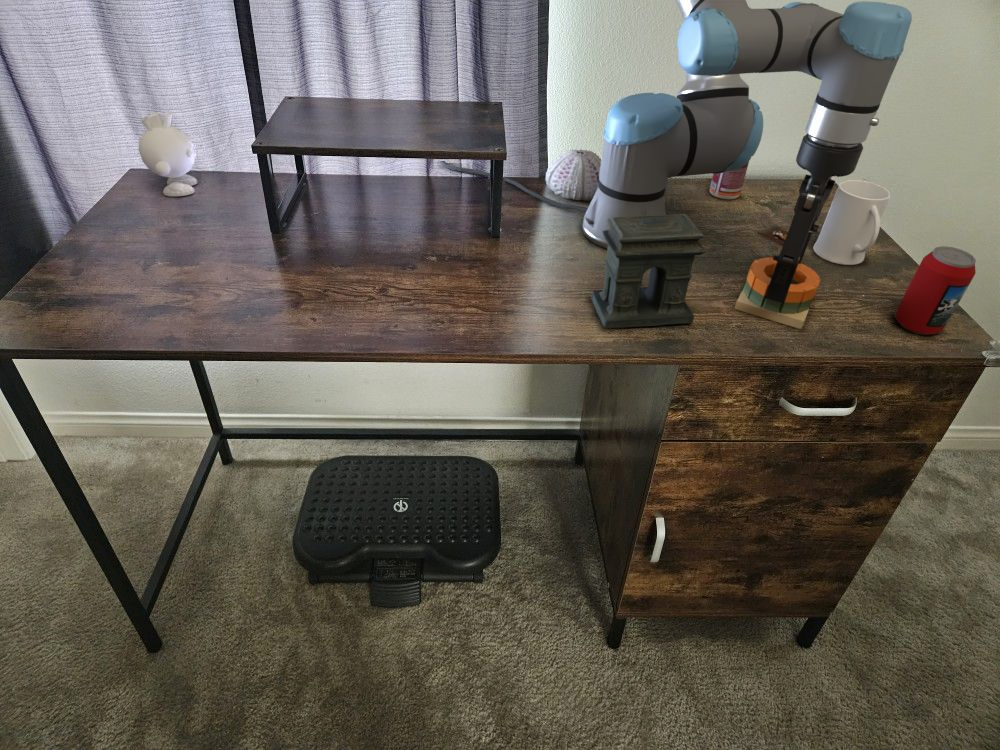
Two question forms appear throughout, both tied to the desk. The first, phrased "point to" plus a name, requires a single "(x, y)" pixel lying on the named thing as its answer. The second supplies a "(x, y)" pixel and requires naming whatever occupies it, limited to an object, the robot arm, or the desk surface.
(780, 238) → the diorama
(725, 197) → the pill bottle
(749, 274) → the orange ring
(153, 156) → the white cartoon figurine
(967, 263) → the beverage can
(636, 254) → the model
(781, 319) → the stacker
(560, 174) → the sea urchin shell
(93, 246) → the desk surface
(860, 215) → the mug
